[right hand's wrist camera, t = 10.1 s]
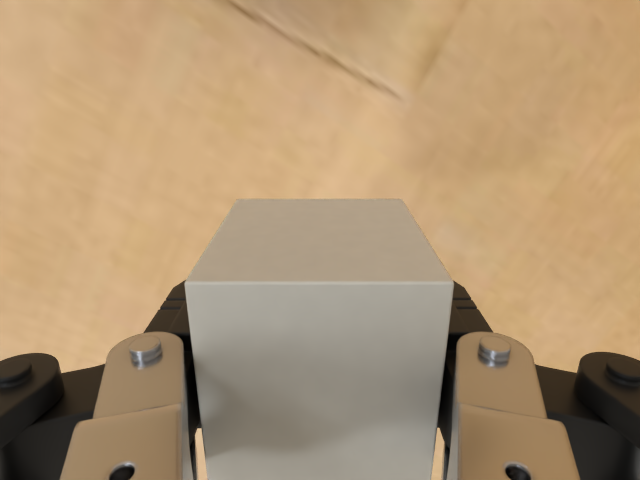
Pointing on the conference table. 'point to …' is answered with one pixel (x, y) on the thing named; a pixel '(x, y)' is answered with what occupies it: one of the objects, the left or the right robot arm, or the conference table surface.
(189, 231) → the conference table surface
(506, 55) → the conference table surface
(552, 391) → the right robot arm
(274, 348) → the block
